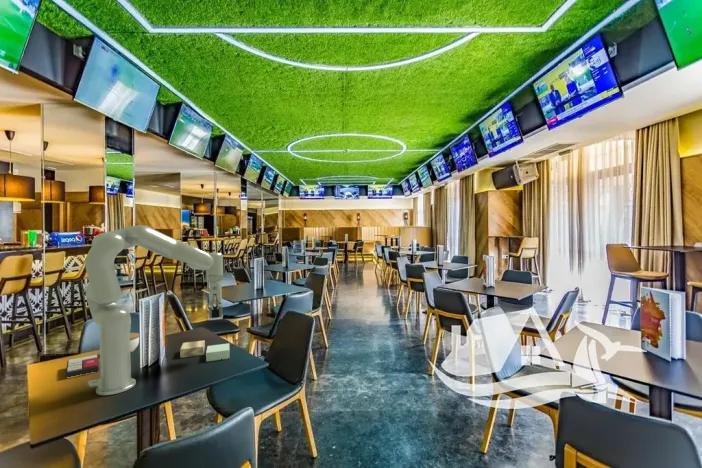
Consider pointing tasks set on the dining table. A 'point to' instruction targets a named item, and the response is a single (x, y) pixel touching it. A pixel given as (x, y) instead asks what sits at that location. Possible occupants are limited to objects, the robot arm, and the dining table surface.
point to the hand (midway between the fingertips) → (215, 315)
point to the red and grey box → (82, 365)
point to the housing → (219, 311)
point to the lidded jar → (134, 341)
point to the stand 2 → (217, 352)
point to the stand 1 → (192, 349)
